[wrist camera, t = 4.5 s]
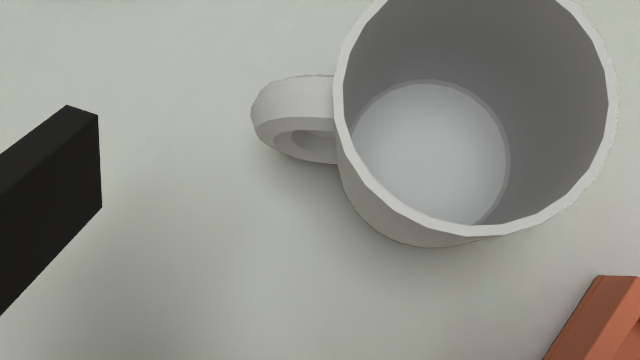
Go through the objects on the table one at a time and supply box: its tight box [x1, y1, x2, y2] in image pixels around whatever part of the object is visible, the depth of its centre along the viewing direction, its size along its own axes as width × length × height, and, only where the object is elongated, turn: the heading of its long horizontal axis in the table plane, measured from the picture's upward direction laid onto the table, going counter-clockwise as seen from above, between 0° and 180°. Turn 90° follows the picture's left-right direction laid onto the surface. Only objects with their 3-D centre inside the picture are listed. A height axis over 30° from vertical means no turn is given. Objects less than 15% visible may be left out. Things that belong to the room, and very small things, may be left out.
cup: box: [250, 0, 619, 248], centre depth 19 cm, size 7×10×9 cm
